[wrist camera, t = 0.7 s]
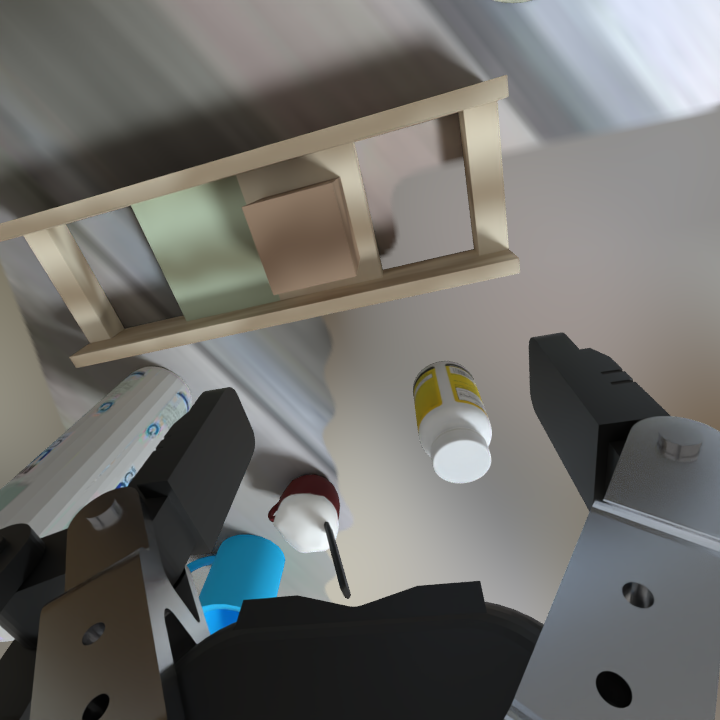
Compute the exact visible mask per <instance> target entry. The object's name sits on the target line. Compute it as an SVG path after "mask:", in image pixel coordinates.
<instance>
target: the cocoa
mask: <svg viewBox="0 0 720 720" xmlns="http://www.w3.org/2000/svg"><path fill="white" fill-rule="evenodd" d="M339 510H340V503H339V497H338V493H337V491H336V489H335V487H334V486H333V484H332V483H331V482H329V481H328V480H327V479H325V478H324V477H321V476H318V475H303V476H301V477H299V478H296V479H294V480H292V482H291V483H290V484H289V486H288V487H287V488H286V490H285V491H284V492H283V494H282V496H281V497H280V500H279V502H278V503H277V504H276V505H274V506H273V507H272V509H271V510H270V511H269V513H268V518H269V520H270V521H271V522H274V523H273V525H274V526H275V527H276V528H277V529H278V531H279V532H280V533H281V535H282V536H283V538H284V539H285V540H286V541H287V542H288V543H289V544H290V545H291V546H292V547H294V548H295V549H296V550H297V551H298V552H302V553H309V552H318V551H325V550H327V549H328V548H330V551H331V555H332V558H333V562H334V566H335V570H336V574H337V578H338V582H339V585H340V589H341V591H342V592H343V595H344V596H345V598H347V599H349V598H350V596H351V594H350V590H349V587H348V583H347V580H346V576H345V572H344V569H343V565H342V562H341V558H340V555H339V551H338V548H337V544H336V541H335V540H336V537H337V534H338V527H339V523H338V519H339ZM276 511H277V513H276V515H275V516H273V515H274V513H275V512H276Z"/></svg>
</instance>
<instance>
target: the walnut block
mask: <svg viewBox="0 0 720 720" xmlns="http://www.w3.org/2000/svg"><path fill="white" fill-rule="evenodd" d="M242 210H243V212H244V215H245V218H246V221H247V223H248V226H249V229H250V232H251V234H252V237H253V240H254V243H255V246H256V248H257V251H258V254H259V257H260V259H261V262H262V265H263V268H264V270H265V273H266V276H267V279H268V281H269V284H270V287H271V290H272V292H273V295H277V294H281V293H286V292H290V291H294V290H299V289H303V288H308V287H312V286H316V285H321V284H325V283H330V282H334V281H338V280H343V279H347V278H352V277H356V275H357V270H358V266H359V261H360V255H359V251H358V247H357V243H356V239H355V235H354V231H353V227H352V223H351V219H350V215H349V211H348V207H347V203H346V199H345V195H344V190H343V186H342V182H341V178H340V177H337V178H334V179H330V180H326V181H323V182H319V183H315V184H312V185H308V186H304V187H301V188H297V189H293V190H290V191H286V192H282V193H279V194H275V195H271V196H267V197H264V198H261V199H259V200H257V201H254V202H252V203H250V204H248V205H245V206H243V207H242Z"/></svg>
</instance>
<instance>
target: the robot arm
mask: <svg viewBox="0 0 720 720" xmlns="http://www.w3.org/2000/svg"><path fill="white" fill-rule="evenodd" d="M529 372H530V395H531V400H532V404H533V408H534V410H535V413H536V415H537V417H538V419H539V420H540V422H541V424H542V426H543V427H544V429H545V431H546V433H547V435H548V437H549V439H550V440H551V442H552V444H553V446H554V448H555V449H556V451H557V453H558V455H559V457H560V459H561V460H562V462H563V464H564V466H565V468H566V469H567V471H568V473H569V475H570V477H571V479H572V480H573V482H574V484H575V486H576V487H577V489H578V491H579V493H580V495H581V497H582V499H583V500H584V502H585V504H586V506H587V508H588V509H589V511H590V512H589V515H588V517H587V520H586V522H585V525H584V527H583V530H582V532H581V535H580V537H579V539H578V542H577V544H576V547H575V549H574V552H573V554H572V557H571V559H570V562H569V564H568V567H567V569H566V572H565V574H564V577H563V579H562V581H561V584H560V586H559V589H558V591H557V594H556V596H555V599H554V601H553V604H552V606H551V609H550V611H549V613H548V616H547V619H546V621H545V623H544V624H542V623H540V622H539V621H537V620H535V619H534V618H532V617H530V616H528V615H525V614H523V613H521V612H519V611H516V610H514V609H511V608H508V607H505V606H501V605H498V604H494V603H489V602H484V597H483V592H482V588H481V583H480V581H473V582H461V583H448V584H435V585H424V586H416V587H413V588H410V589H408V590H405V591H402V592H399V593H396V594H393V595H390V596H387V597H385V598H382V599H379V600H376V601H373V602H370V603H367V604H364V605H362V606H358V607H350V606H345V605H340V604H335V603H331V602H326V601H321V600H316V599H312V598H307V597H302V596H285V597H273V598H260V599H248V600H243V603H242V606H241V609H240V612H239V616H238V619H237V622H235V623H232V624H230V625H228V626H226V627H224V628H222V629H220V630H218V631H216V632H215V633H213V634H211V635H210V632H209V629H208V626H207V623H206V619H205V616H204V613H203V610H202V606H201V603H200V600H199V597H198V593H197V590H196V587H195V584H194V580H193V577H192V574H191V572H190V570H189V568H188V567H187V565H186V563H187V561H188V559H189V557H190V555H198V554H208V553H211V552H212V550H213V548H214V545H215V543H216V541H217V538H218V536H219V533H220V531H221V529H222V526H223V524H224V521H225V519H226V517H227V514H228V512H229V510H230V507H231V505H232V502H233V500H234V498H235V495H236V493H237V491H238V488H239V486H240V483H241V481H242V479H243V476H244V474H245V471H246V469H247V467H248V464H249V462H250V460H251V457H252V455H253V452H254V448H255V437H254V433H253V430H252V427H251V425H250V423H249V420H248V418H247V416H246V413H245V411H244V409H243V406H242V404H241V402H240V400H239V397H238V395H237V393H236V391H235V390H234V389H233V388H231V387H228V388H222V389H216V390H210V391H205V392H203V393H202V394H201V395H200V397H199V398H198V399H197V401H196V402H195V404H194V405H193V406H192V408H191V409H190V411H188V412H187V413H186V414H185V415H184V416H182V417H181V418H180V419H179V420H178V421H176V422H175V423H174V424H173V425H172V427H171V428H170V429H169V431H168V432H167V433H166V435H165V436H164V439H163V440H161V441H160V443H159V444H158V445H157V447H156V451H153V452H152V453H151V455H150V456H149V457H148V459H147V460H146V461H145V463H144V464H143V466H142V467H141V468H140V470H139V471H138V472H137V474H136V475H135V476H134V478H133V479H132V480H131V482H130V483H129V484H128V486H127V487H121V488H117V489H113V490H111V491H108V492H106V493H104V494H102V495H100V496H98V497H97V498H95V499H94V500H92V501H91V502H89V503H88V504H87V505H86V506H84V507H83V508H82V509H81V510H80V511H79V512H78V513H77V514H76V515H75V517H74V518H73V519H72V521H71V523H70V524H69V527H68V528H67V529H64V530H61V531H59V532H56V533H53V534H51V535H48V536H45V537H42V538H40V537H39V536H38V535H37V534H36V533H35V531H34V530H33V529H32V528H31V527H30V526H29V525H28V524H25V523H19V524H14V525H10V526H7V527H5V528H3V529H0V626H1V627H2V628H3V629H4V630H5V631H7V632H8V633H9V634H10V635H11V636H12V637H13V638H14V641H13V642H12V643H11V645H10V646H9V648H8V649H7V651H6V652H5V653H4V655H3V656H2V658H1V659H0V720H715V711H716V701H717V690H718V680H719V670H720V432H719V431H717V430H716V429H714V428H712V427H710V426H708V425H705V424H703V423H700V422H697V421H694V420H690V419H686V418H680V417H672V416H670V415H669V414H668V413H667V412H666V411H665V410H664V409H663V408H662V407H661V406H660V405H659V404H658V403H657V402H656V401H655V400H654V399H653V398H652V397H650V395H648V393H646V392H645V391H644V390H643V389H642V388H641V387H640V386H639V385H638V384H637V383H636V382H633V379H632V378H631V377H630V376H629V375H628V374H627V373H626V372H625V371H624V372H623V371H622V368H621V367H620V366H619V365H618V364H617V363H616V362H614V361H613V360H612V359H611V358H610V357H609V356H607V355H605V354H602V353H600V352H598V351H595V350H593V349H591V348H587V349H580V350H579V348H578V347H577V346H576V345H575V344H574V343H573V342H572V341H571V340H570V339H569V338H568V337H567V335H566V334H564V333H556V334H550V335H544V336H538V337H532V338H531V339H530V341H529Z"/></svg>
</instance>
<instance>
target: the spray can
mask: <svg viewBox="0 0 720 720" xmlns="http://www.w3.org/2000/svg"><path fill="white" fill-rule="evenodd" d="M191 405H192V396H191V393H190V390H189V388H188V386H187V385H186V383H185V382H184V381H183V380H182V379H181V378H180V377H179V376H177V375H176V374H174V373H173V372H171V371H169V370H167V369H164V368H160V367H155V366H150V367H143V368H140V369H138V370H136V371H134V372H133V373H131V374H130V375H129V376H128V377H127V378H126V379H124V380H123V381H122V382H121V383H120V384H119V385H118V386H116V387H115V388H114V389H113V390H112V391H111V392H110V393H109V394H107V395H106V396H105V397H104V398H103V399H102V400H101V401H100V402H98V403H97V404H96V405H95V406H94V407H93V408H92V409H91V410H89V411H88V412H87V413H86V414H85V415H84V416H83V417H82V418H80V419H79V420H78V421H77V422H76V423H75V424H74V425H73V426H71V427H70V428H69V429H68V430H67V431H66V432H65V433H64V434H62V435H61V436H60V437H59V438H58V439H57V440H56V441H55V442H53V443H52V444H51V445H50V446H49V447H48V448H47V449H46V450H44V451H43V452H42V453H41V454H40V455H39V456H38V457H37V458H36V459H34V460H33V461H32V462H31V463H30V464H29V465H28V466H26V467H25V468H24V469H23V470H22V471H21V472H20V473H19V474H18V475H17V476H15V477H14V478H13V479H12V480H11V481H10V482H8V483H7V484H6V485H5V486H4V487H3V488H2V489H1V490H0V529H3V528H5V527H7V526H10V525H14V524H19V523H25V524H28V525H29V526H30V527H31V528H32V529H33V530H34V531H35V533H36V534H37V535H38V536H39V537H40V538H42V537H45V536H48V535H51V534H53V533H56V532H59V531H61V530H64V529H67V528H68V527H69V524H70V523H71V521H72V519H73V518H74V517H75V515H76V514H77V513H78V512H79V511H80V510H81V509H82V508H83V507H84V506H86V505H87V504H88V503H89V502H91V501H92V500H94V499H95V498H97V497H98V496H100V495H102V494H104V493H106V492H108V491H111V490H113V489H117V488H121V487H127V486H128V484H129V483H130V482H131V480H132V479H133V478H134V476H135V475H136V474H137V472H138V471H139V470H140V468H141V467H142V466H143V464H144V463H145V461H146V460H147V459H148V457H149V456H150V455H151V453H152V452H153V451H156V447H157V445H158V444H159V443H160V441H161V440H163V439H164V436H165V435H166V433H167V432H168V431H169V429H170V428H171V427H172V425H173V424H174V423H175V422H176V421H178V420H179V419H180V418H181V417H182V416H184V415H185V414H186V413H187V412H188V411H189V410H190V408H191ZM13 640H14V638H13V637H12V636H11V635H10V634H9V633H8V632H7V631H5V630H4V629H3V628H2V627H1V626H0V642H6V641H13Z"/></svg>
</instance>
